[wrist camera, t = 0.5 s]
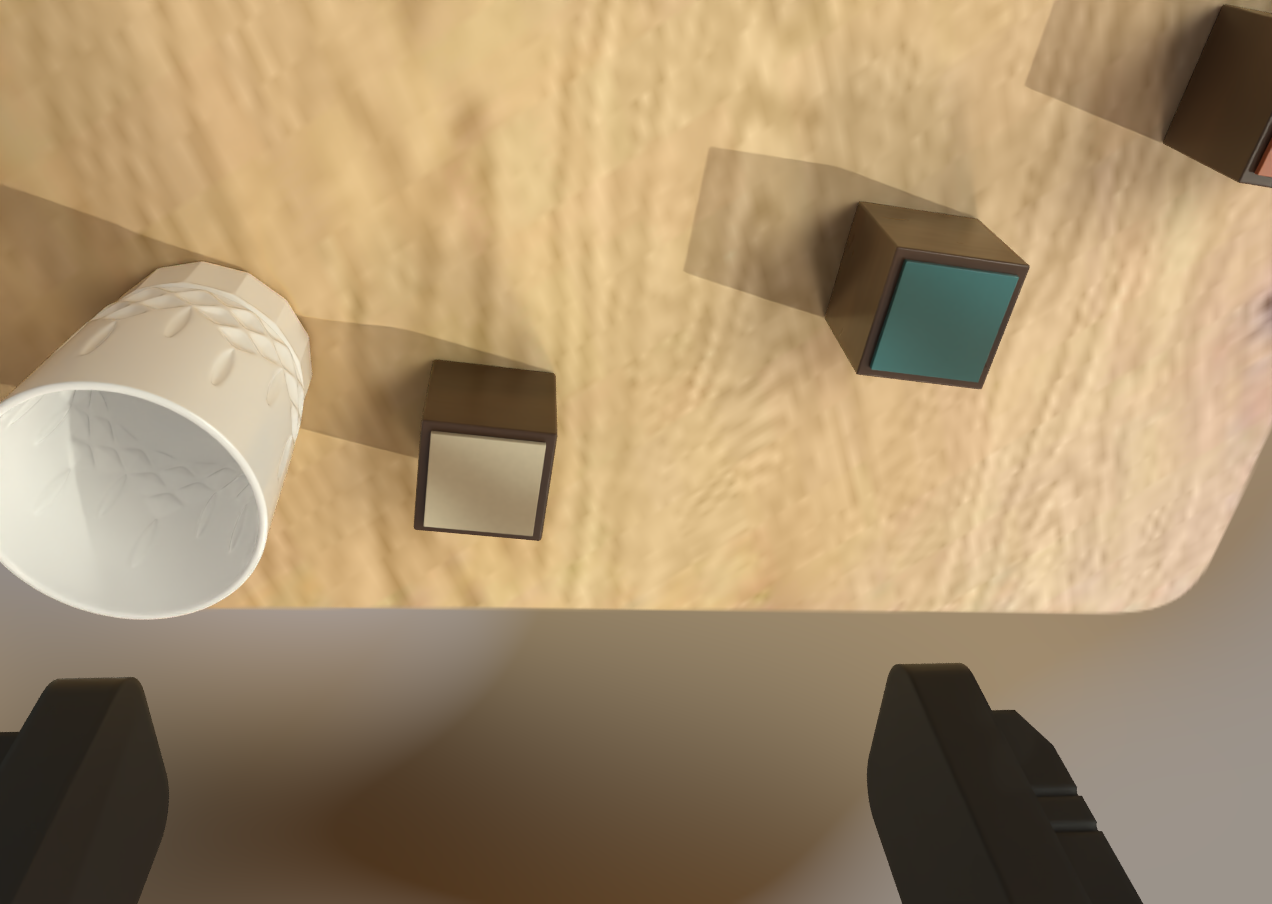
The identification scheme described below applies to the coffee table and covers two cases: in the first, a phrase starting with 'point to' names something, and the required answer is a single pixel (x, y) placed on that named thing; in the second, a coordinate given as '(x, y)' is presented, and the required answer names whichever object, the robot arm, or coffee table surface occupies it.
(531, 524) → the brown block
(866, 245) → the teal topped brown block
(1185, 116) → the red-topped brown block
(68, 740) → the robot arm
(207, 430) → the white cup
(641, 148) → the coffee table surface
